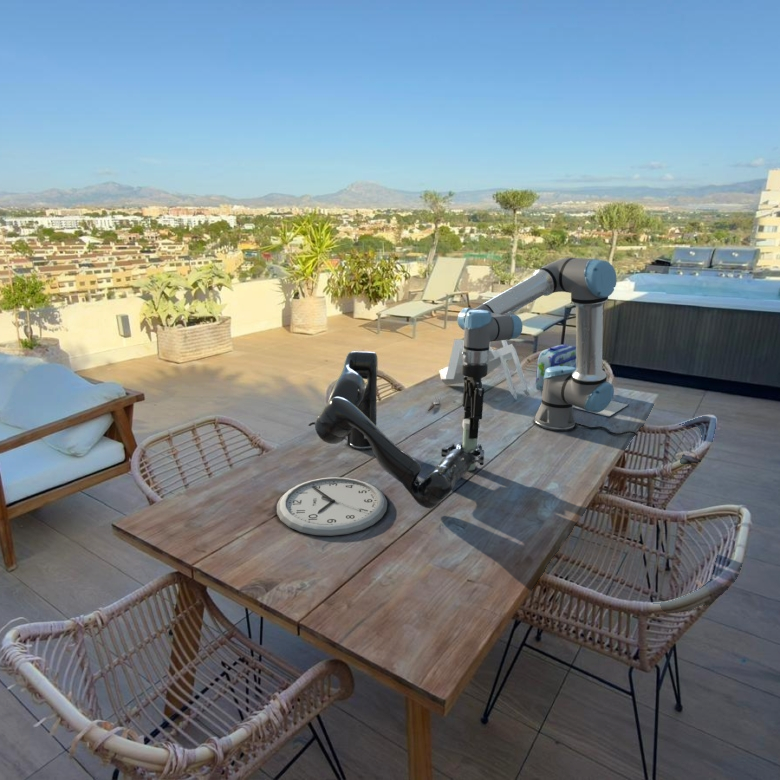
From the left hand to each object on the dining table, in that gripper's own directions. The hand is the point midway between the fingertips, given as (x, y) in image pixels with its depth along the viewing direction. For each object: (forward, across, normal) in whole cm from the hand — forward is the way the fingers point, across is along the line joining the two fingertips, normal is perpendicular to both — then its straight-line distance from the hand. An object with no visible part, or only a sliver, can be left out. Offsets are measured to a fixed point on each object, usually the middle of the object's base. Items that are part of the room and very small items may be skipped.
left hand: (471, 445), depth 167 cm
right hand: (-3, 0, -5) cm, 6 cm away
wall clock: (-43, +26, +7) cm, 51 cm away
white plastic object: (+76, +20, +7) cm, 79 cm away
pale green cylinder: (-3, 0, +7) cm, 7 cm away
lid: (-3, 0, -9) cm, 9 cm away
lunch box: (+99, -10, +7) cm, 100 cm away
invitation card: (+82, -32, +7) cm, 89 cm away
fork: (+47, +32, +7) cm, 57 cm away
